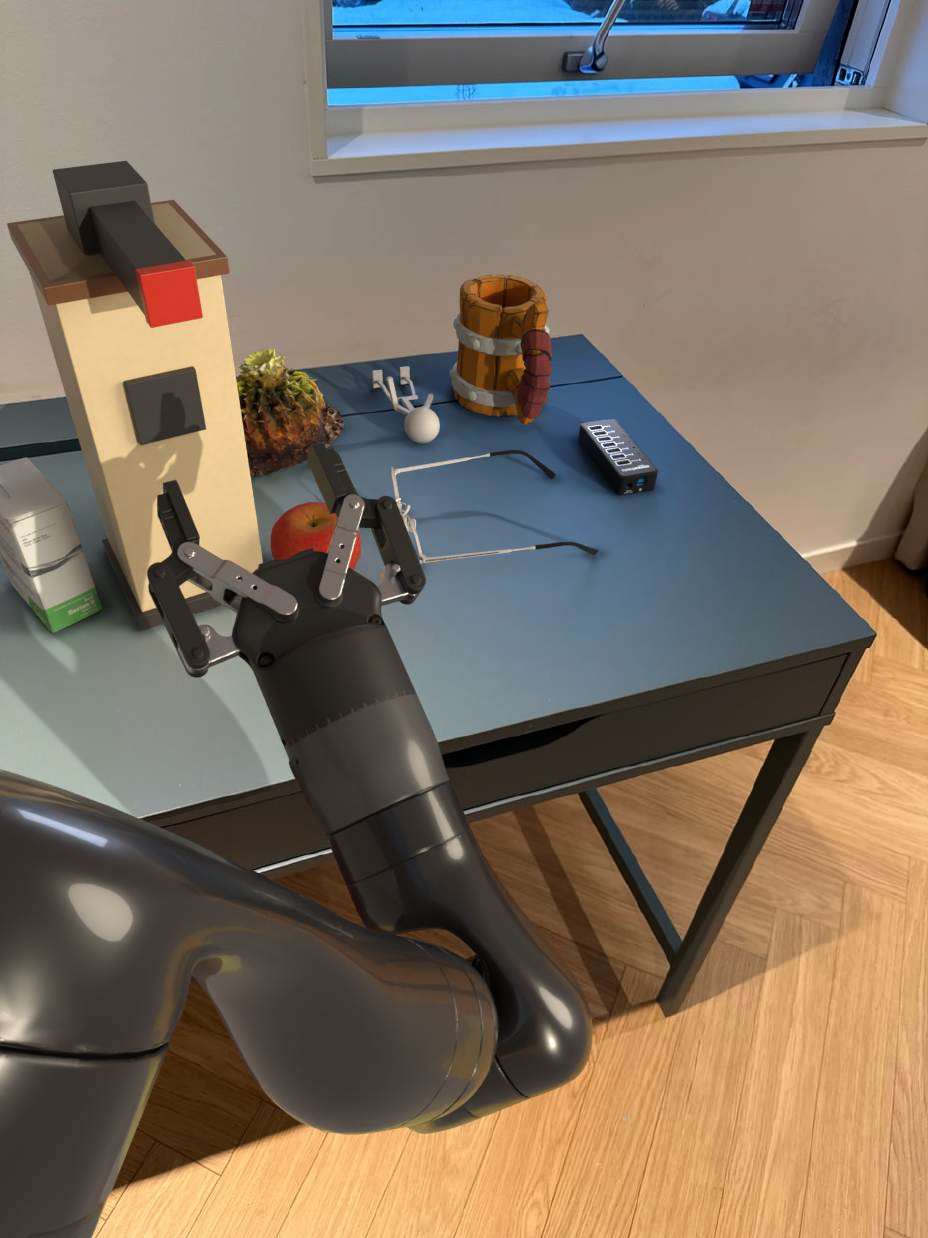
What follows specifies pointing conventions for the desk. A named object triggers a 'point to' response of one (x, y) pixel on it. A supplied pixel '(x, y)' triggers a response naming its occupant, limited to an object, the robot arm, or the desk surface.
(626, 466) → the multiport hub
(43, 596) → the ink box
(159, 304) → the flashlight
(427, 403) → the figurine
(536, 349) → the mug
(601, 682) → the desk surface
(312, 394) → the cactus
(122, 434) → the tall tapered bin
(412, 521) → the eyeglasses
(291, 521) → the apple
